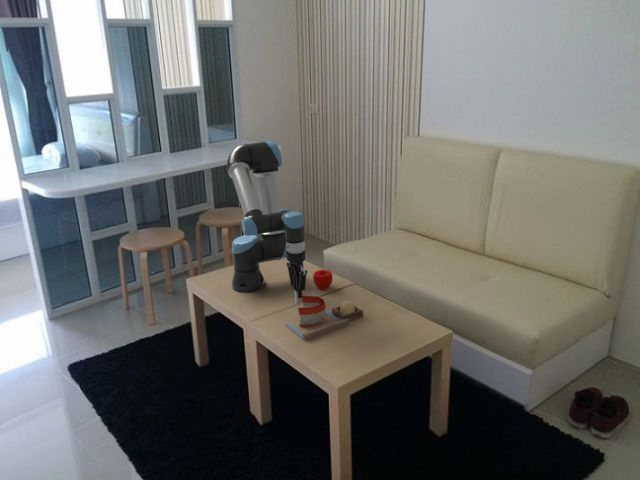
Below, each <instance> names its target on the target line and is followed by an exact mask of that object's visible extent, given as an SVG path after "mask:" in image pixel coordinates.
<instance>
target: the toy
mask: <svg viewBox="0 0 640 480" xmlns="http://www.w3.org/2000/svg"><path fill="white" fill-rule="evenodd" d="M302 303H303V304H302V306H303V307H299V308H297V310H298V314H299V315H298V316H299V327H300V328H301V327H306V328H307V327H313V326H314V327H315V326H317V325H319V324H321V323H322V322H323V320H324V319H325V318H324V317H325V315H326V313H325V312H326V308H327V306H326V302H325V300H324V299H323V298H321V297H319V296H317V295H316V296H315V295H302Z"/></svg>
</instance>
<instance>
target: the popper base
mask: <svg viewBox="0 0 640 480" xmlns="http://www.w3.org/2000/svg"><path fill="white" fill-rule="evenodd" d="M340 306H341V305H339V306H336V307H333V308H331V312H332V315H334V316H335V317H337V318H338V319H340V320H343V319H346V318H347V319H349V323H351V322H355V321H357V320H359V319H362V318H364V310H363V309H362V308H360V307H358V306H356V305H354V307H355V312H353V313H350V314H347V315H345V314H343V313H342V312H340Z"/></svg>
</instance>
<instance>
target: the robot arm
mask: <svg viewBox="0 0 640 480" xmlns="http://www.w3.org/2000/svg"><path fill="white" fill-rule="evenodd" d="M282 161H283V159H282V153H281V151H280V149H279V146H278V144H277V143H276V142H274V141H260V142H254V143H244V144H243V143H242V144H240V145H237V146H236V147H234V148H233V149H232V150H231V151H230V153H229V155H228V158H227V160H226V170H227V174H228V176H229V177H230V178H231V179H232V181H233V185H234V188H235V190H236V194H237V198H238V200H239V204H240V206H241V209H242V213H243V216H244V217H243V218H242V219H241V228H242V232H243V235H241V236H238V237H236V238H235V239H233V241H232V243H231V253H232V261H233V275H232V280H231V287H232V289H233V290H234V291H237V292H240V293H241V292H242V293H249V292H254V291H257V290H260V289H262V288H263V287H265V284H266V282H265V278H264V275H263V273H262V271H261V268H260V264H261V263H266V262H273V261H280V260H282V259H286V261H288V262H286V267H287V272H288V277H289V281H290V282H289V283H290V286H291V287H292V289H293V290H294V305H295V306H299V305H303V302H302V296H303V291H305V290H306V282H307V281H306V280H307V274H308V270H307V269H304V268H305V267H304V261H305V260H306V242H305V220H304V215H303V213H302V212H299V211H290V210H289V209H285V208H282V209H280V201H279V192H278V184H277V174H278V173H279V171H280V170H279V168H280V167H282V165H283V163H282ZM250 171H252V175H254V176H255V177H256V182H257V189H258V190H257V191H258V196H257V192H256V189H255V186H254V183H253V180H252V177H251V175H250ZM257 235H260V237H258V236H257Z"/></svg>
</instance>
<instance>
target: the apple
mask: <svg viewBox="0 0 640 480" xmlns="http://www.w3.org/2000/svg"><path fill="white" fill-rule="evenodd" d="M312 275H313V276H312V279H313V283H314V285H315V287H316V288H317V289H318V290H320V291H324V290H327V289H329V287H330V286H331V284H332V282H333V273H332V272H331V271H330V270H327V269H319V270H316V271H315V272H314V273H313V274H312Z"/></svg>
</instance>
